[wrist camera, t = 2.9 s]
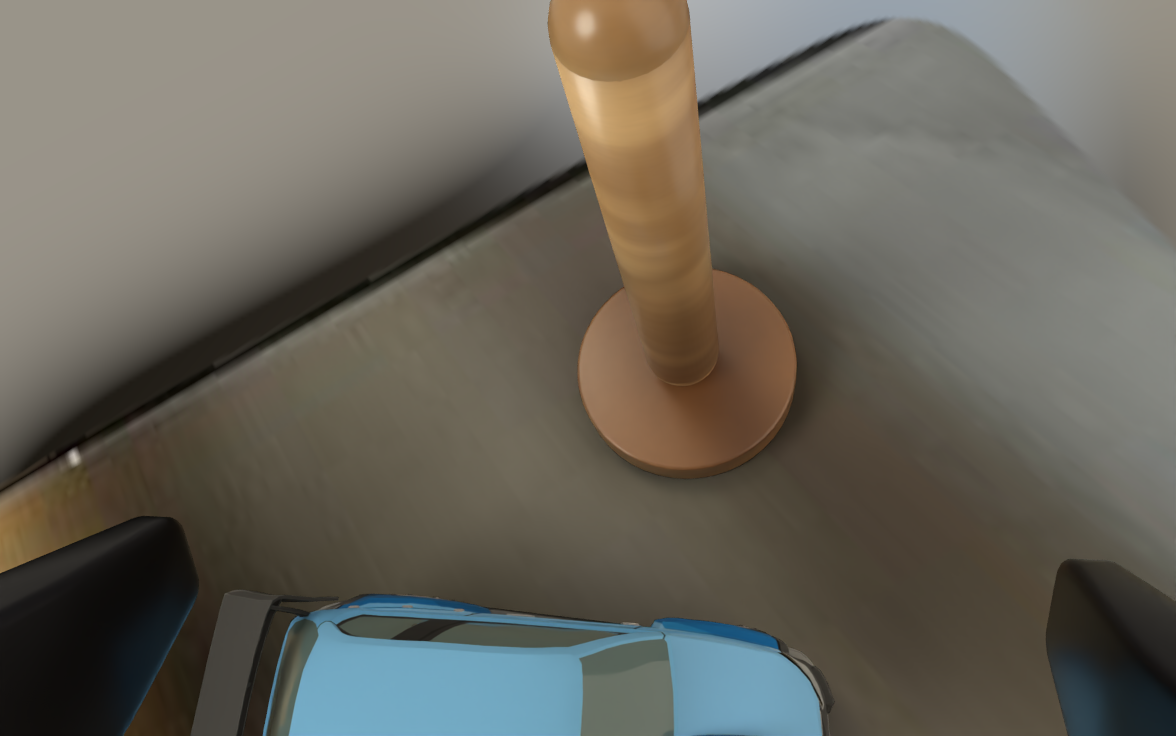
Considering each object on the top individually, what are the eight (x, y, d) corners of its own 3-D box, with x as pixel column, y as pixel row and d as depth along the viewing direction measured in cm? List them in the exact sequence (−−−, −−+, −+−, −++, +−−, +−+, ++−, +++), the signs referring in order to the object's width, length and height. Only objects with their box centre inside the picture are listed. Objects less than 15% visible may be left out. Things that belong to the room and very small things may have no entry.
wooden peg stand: (664, 523, 21) (540, 268, 9) (544, 360, 24) (306, -34, 11) (840, 393, 22) (967, -30, 9) (707, 245, 24) (659, -263, 11)
